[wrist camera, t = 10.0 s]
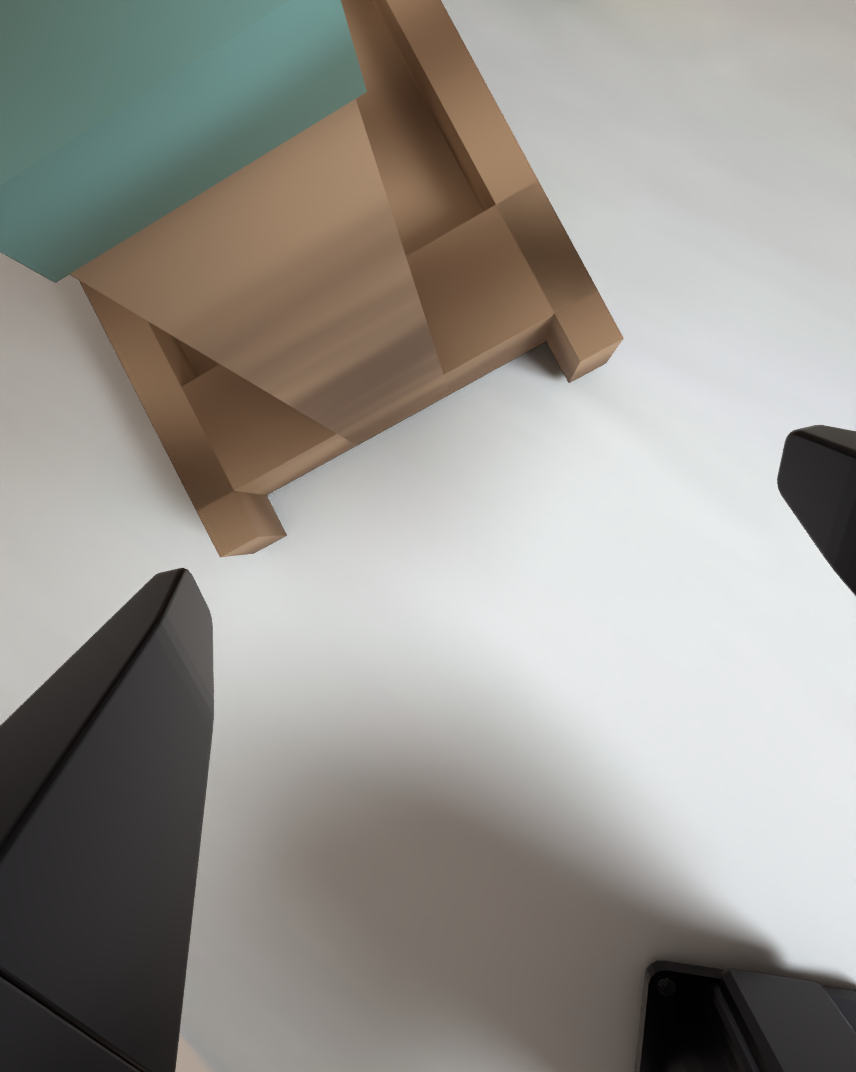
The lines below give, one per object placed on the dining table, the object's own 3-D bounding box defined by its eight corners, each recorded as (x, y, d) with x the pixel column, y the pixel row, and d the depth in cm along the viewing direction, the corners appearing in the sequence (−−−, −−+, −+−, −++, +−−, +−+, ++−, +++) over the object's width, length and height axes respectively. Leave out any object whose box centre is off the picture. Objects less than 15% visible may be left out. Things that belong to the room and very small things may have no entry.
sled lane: (605, 362, 18) (1019, -228, 4) (253, 553, 19) (-409, 628, 5) (335, -140, 19) (-158, -2234, 4) (9, 75, 20) (-1193, -1049, 6)
